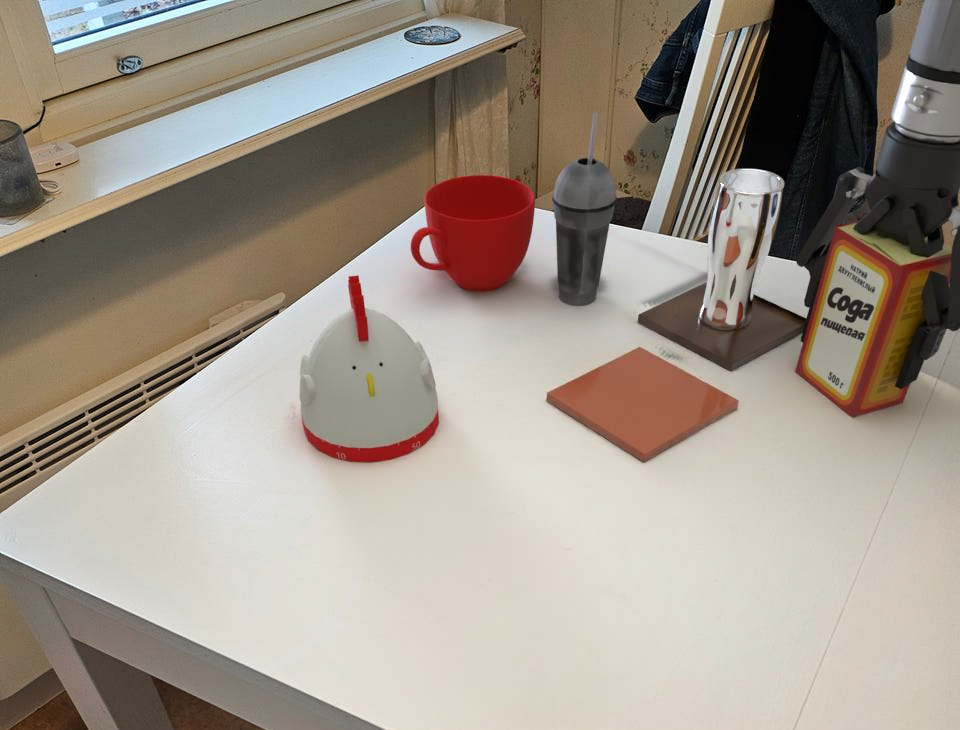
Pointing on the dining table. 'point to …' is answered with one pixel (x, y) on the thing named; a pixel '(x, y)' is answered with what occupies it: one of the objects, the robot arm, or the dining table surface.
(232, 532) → the dining table surface
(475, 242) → the ceramic cup
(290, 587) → the dining table surface
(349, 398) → the kitchen timer
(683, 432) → the terracotta tile
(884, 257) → the baking soda box
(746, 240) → the beer glass
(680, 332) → the walnut board
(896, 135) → the robot arm
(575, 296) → the beverage cup
